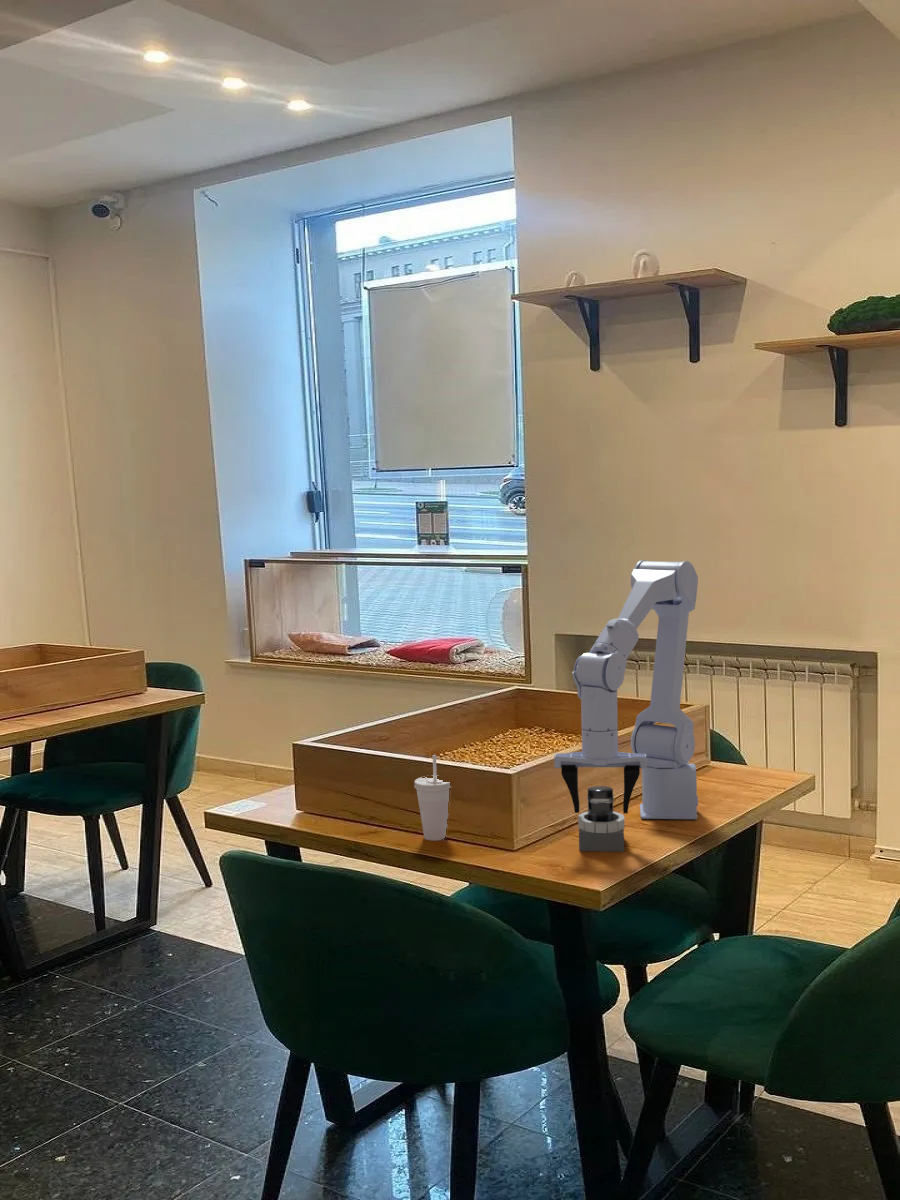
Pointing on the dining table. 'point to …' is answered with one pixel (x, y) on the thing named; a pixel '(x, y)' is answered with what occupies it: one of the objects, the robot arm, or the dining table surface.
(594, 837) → the block with notched collar
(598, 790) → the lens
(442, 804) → the smoothie
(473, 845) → the dining table surface
